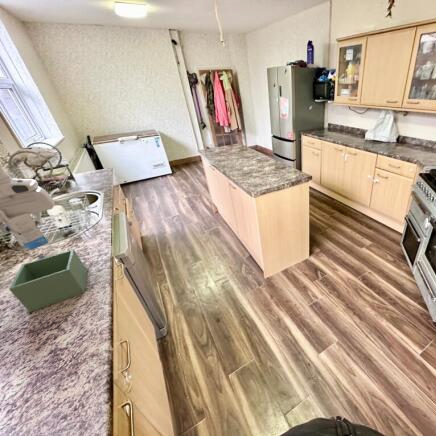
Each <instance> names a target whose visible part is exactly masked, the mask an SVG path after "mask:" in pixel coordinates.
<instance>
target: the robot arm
mask: <svg viewBox="0 0 436 436" xmlns="http://www.w3.org/2000/svg"><path fill="white" fill-rule="evenodd" d="M55 204H56V203H55V201H54V199H53V197H52V196H51V195H50V193H48V192H47V190H46V189H44V188H43V187H41V186H39V183H38V181H37V180H36V179H30V178H14V177H13V178H12V176H11V174H10V173H9V172H8V171H6V170H5V169H4V167H3V164H2V161H1V160H0V210H2V211H3V212H4V213H5V214H6V216H7V217H11V216H16V215H20V214H25V213H29V215H32V214H33V215H34V217H36V218H35V219H33V220H34V222H35V223H36V225H37V226H42V225H43V224H44V223H43V222H44V221H43V220H42V218H41V217H42V214H43V213H42V212H45V211H49V210H52V209H53V208H54V207H55ZM1 220H5V219H4V217H3V216H2V214H1V213H0V221H1ZM1 222H2V221H1ZM8 233H11V232H10V229H8V227H7V226H5V225H4V226H3V225H1V224H0V234H1V235H4V234H8Z"/></svg>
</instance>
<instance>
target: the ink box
mask: <svg viewBox="0 0 436 436" xmlns="http://www.w3.org/2000/svg"><path fill="white" fill-rule="evenodd" d="M0 213H1V214H2V216H3V217H4V219H5V220H1V222H2V223H3V224H4V227H5V226H7V227H8V229H10V232H9V233H10V234H11V235H12V236H13V238H14V239H15V240H16V242H17V243H18V244H19V246H21V247H23V248H25V249H27V250H30V251H33V250H36V249H37V248H39V247H42V246H45V245H47V244H48V243H49V241H48V239H47V238H46V236H45V234H44V233H43V232H42V230H41V229H40V228H39V225H36V223H35V222H34V220H35V219H33V217H32V216H31V214H29V213H25V214H20V215H16V216H11V217H7V216H6V214H5V213H4V212H3V211H2V210H0Z"/></svg>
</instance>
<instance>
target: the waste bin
mask: <svg viewBox="0 0 436 436" xmlns="http://www.w3.org/2000/svg"><path fill="white" fill-rule="evenodd" d="M45 257H46V258H43V259H39V258H38V259H36V260H33V261H29V262H26V263H23V264H21V266H20V268H19V270H18V272H17V273H16V275H15V277H14V279H13V281H12V283H11V285H10V287H9V291H10V292H11V293H12V294H13V296H15V298H16V299H17V300H18V301H19V302H20V303H21V304H22V305H23V306H24V308H25V309H26V310H27V311H28V312H29V313H32V312H35V311H37V310H40V309H42V308H45V307H48V306H51V305H53V304H57V303H59V302H62V301H64V300H67V299H70V298H72V297H75V296H77V295H81V294H83V293H85V288H86V283H87V282H86V281H87V275H88V269H87V268H86V266H85V265H84V263H83V261H82V260H81V257H80V256H79V255H78V253H77V252H76V250H75V249H74V248H73V249H70V250H66V251H63V252H60V253H56V254H53V255H49V256H45Z"/></svg>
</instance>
